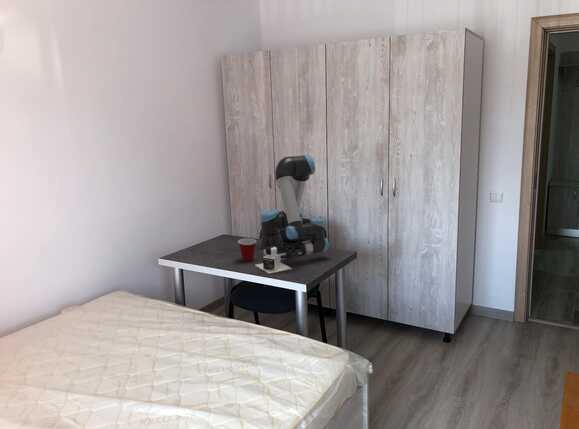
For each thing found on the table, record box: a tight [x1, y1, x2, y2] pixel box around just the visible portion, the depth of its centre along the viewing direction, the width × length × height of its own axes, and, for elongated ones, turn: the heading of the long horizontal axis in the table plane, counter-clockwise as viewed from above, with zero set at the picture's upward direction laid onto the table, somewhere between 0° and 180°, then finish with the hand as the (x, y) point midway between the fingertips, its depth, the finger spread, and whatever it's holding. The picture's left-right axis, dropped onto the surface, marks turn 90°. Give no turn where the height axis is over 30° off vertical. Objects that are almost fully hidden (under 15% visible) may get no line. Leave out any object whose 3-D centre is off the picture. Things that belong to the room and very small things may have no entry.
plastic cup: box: [237, 238, 257, 263], centre depth 277 cm, size 11×11×12 cm
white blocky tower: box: [262, 247, 282, 271], centre depth 259 cm, size 7×7×12 cm
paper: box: [254, 262, 292, 274], centre depth 264 cm, size 18×14×1 cm
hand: (269, 255), depth 258 cm, fingers open, 13 cm apart
